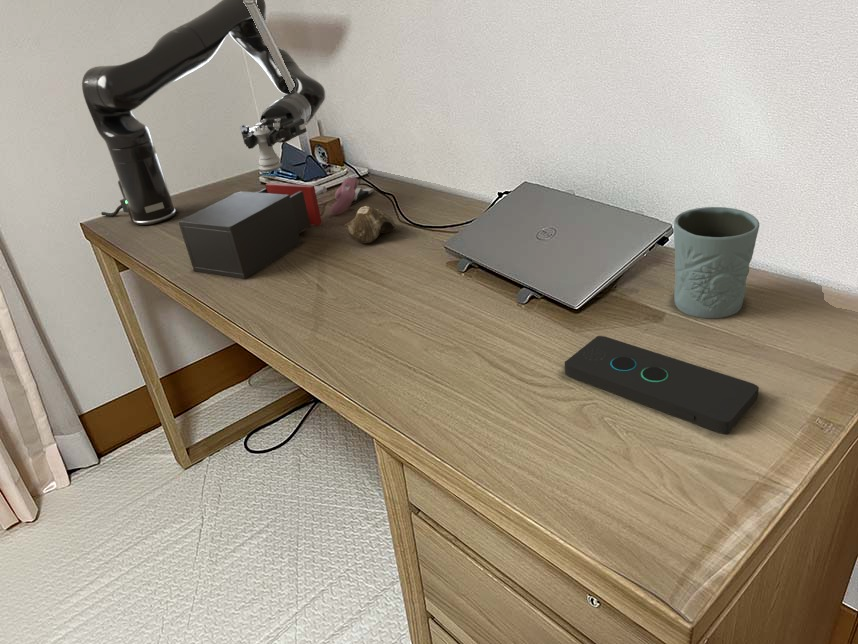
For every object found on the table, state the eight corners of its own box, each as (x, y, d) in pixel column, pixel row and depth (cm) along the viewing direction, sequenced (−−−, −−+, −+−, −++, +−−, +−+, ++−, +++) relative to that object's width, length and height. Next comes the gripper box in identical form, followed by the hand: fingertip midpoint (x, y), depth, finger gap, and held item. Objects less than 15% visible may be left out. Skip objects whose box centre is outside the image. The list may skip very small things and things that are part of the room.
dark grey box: (251, 237, 139) (239, 191, 134) (301, 243, 132) (289, 194, 128) (193, 271, 127) (177, 221, 122) (244, 279, 121) (230, 226, 116)
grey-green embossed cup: (692, 280, 100) (697, 201, 94) (763, 298, 93) (773, 214, 87) (655, 309, 94) (658, 227, 88) (728, 330, 87) (737, 242, 81)
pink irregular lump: (350, 221, 144) (359, 191, 140) (328, 214, 143) (337, 184, 140) (354, 203, 152) (363, 174, 149) (334, 197, 152) (342, 167, 148)
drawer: (296, 208, 148) (288, 172, 144) (340, 212, 142) (332, 175, 139) (229, 247, 133) (217, 208, 129) (274, 253, 127) (264, 212, 123)
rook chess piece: (286, 164, 135) (276, 123, 131) (275, 172, 131) (265, 130, 127) (266, 165, 137) (256, 124, 133) (255, 172, 133) (244, 131, 129)
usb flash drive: (350, 205, 148) (350, 201, 147) (332, 203, 150) (331, 199, 150) (374, 192, 154) (374, 187, 153) (356, 190, 156) (355, 186, 156)
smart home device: (599, 332, 87) (761, 384, 74) (599, 344, 88) (759, 397, 75) (561, 363, 82) (727, 423, 69) (561, 375, 83) (726, 436, 70)
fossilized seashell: (381, 210, 135) (338, 234, 132) (381, 188, 130) (336, 212, 126) (404, 236, 133) (360, 260, 129) (405, 214, 127) (360, 239, 123)
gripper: (320, 133, 144) (299, 158, 129) (256, 140, 146) (228, 165, 131) (313, 96, 140) (290, 118, 126) (247, 104, 143) (217, 126, 128)
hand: (258, 142), depth 129 cm, fingers closed on rook chess piece, 3 cm apart
